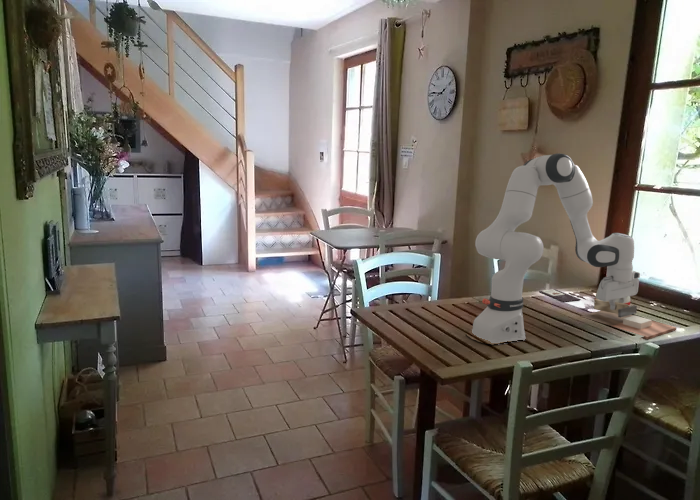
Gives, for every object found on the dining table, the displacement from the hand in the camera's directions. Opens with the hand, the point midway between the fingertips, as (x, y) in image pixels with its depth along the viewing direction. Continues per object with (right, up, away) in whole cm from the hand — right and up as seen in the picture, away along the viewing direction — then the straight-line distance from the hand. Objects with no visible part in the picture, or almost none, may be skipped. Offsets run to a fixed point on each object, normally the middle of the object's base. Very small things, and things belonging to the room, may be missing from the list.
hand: (616, 308), depth 206 cm
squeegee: (-1, -1, +2) cm, 3 cm away
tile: (+5, -5, -6) cm, 10 cm away
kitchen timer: (+11, 0, +25) cm, 28 cm away
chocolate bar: (-8, +1, +37) cm, 38 cm away
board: (+3, -6, -2) cm, 7 cm away
